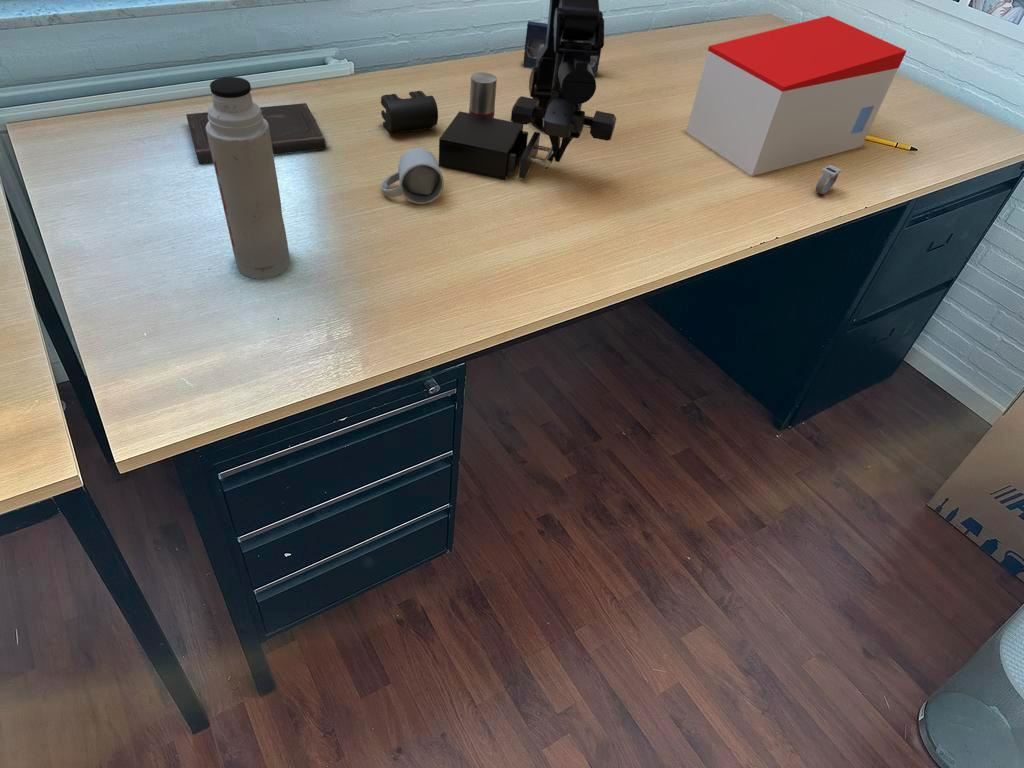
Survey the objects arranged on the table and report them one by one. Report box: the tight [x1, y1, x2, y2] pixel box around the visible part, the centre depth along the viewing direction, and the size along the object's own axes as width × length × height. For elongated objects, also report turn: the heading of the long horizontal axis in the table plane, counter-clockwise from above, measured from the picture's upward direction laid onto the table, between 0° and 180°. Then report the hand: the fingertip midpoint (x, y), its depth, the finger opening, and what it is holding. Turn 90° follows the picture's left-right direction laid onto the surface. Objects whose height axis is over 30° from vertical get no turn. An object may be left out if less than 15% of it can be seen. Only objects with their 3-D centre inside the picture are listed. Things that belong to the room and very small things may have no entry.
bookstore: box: [685, 15, 907, 177], centre depth 151 cm, size 21×35×21 cm, turn 121°
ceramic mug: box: [380, 147, 445, 205], centre depth 126 cm, size 11×8×8 cm
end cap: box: [380, 90, 439, 135], centre depth 144 cm, size 10×7×7 cm
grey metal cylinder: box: [468, 71, 498, 118], centre depth 147 cm, size 5×5×10 cm
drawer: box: [506, 130, 555, 180], centre depth 138 cm, size 16×12×4 cm
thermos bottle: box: [206, 76, 291, 280], centre depth 101 cm, size 8×8×28 cm
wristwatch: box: [815, 164, 843, 195], centre depth 141 cm, size 6×3×5 cm, turn 135°
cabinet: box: [438, 111, 525, 181], centre depth 138 cm, size 13×13×6 cm
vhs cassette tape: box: [522, 20, 602, 78], centre depth 172 cm, size 18×3×10 cm, turn 81°
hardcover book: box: [185, 102, 327, 164], centre depth 137 cm, size 16×23×2 cm
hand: (557, 160), depth 137 cm, fingers closed
